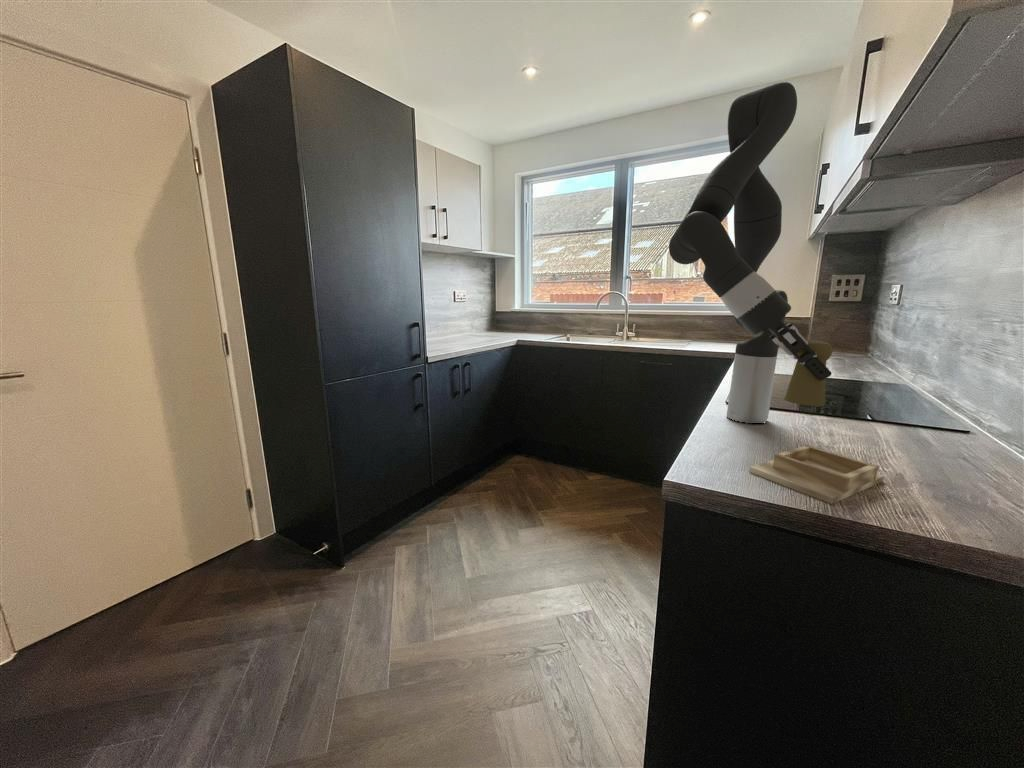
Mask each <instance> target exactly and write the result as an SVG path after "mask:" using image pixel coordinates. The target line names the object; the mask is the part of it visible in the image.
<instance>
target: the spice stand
mask: <svg viewBox="0 0 1024 768" xmlns="http://www.w3.org/2000/svg"><path fill="white" fill-rule="evenodd" d="M878 470H879V465H876V464H872V463H869V462H867V461H863V460H859V459H857V458H853V457H849V456H846V455H842V454H838V453H835V452H832V451H828V450H824V449H822V448H818V447H815V446H811V445H808V444H805V445H804V446H803V445H802V446H799V447H796V448H793V449H789V450H786V451H781V452H779V453H776V454H774V457H773V459H771V460H768V461H764V462H762V463H757V464H754V465H751V466H749V470H748V471H749V473H751V474H754V475H756V476H759V477H761V478H765V479H767V480H769V481H771V482H775V483H777V484H780V485H782V486H784V487H787V488H790V489H792V490H795V491H797V492H799V493H802V494H805V495H808V496H810V497H812V498H814V499H818V500H820V501H822V500H823V501H822V502H825V503H829V504H831V505H833V504H835V503H838V502H839V501H842V500H844V499H847V498H848V497H849V498H850V497H851V496H853V495H855V494H858V493H860V492H863V491H864V490H867V489H869V488H871V487H873V486H875V485H878V484H880V483H882V482H884V479H885V475H883V474H879V473H878Z"/></svg>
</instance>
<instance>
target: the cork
mask: <svg viewBox="0 0 1024 768" xmlns="http://www.w3.org/2000/svg"><path fill="white" fill-rule="evenodd" d="M806 341H807V342H808V344H809V345H808V346H809V347H810V348H811V349H812V350H814V351H815V352H816V356H817V358H818V359H819V360H820V361H821V362H822V363H823V364H824V365H825V366H826V367H827V361H829V359H830V358H831V357H832V354H833V346H832V344H830V343H829V342H826V341H822V340H816V339H815V340H813V339H812V340H811V339H810V340H806ZM806 352H807V350H806V349H802V350H801V351H799V352H798V353H797V354H798V355H799V356H801V355H802V354H804V353H806ZM826 379H827V378H826ZM826 379H824V380H822V381H819V380H817V379H816V378H815V377H814V375H813V374H812V373H811V372H810V371H809V370H808V369H807V368H806V367H805V366H804V365H802V364H800V363H799V362H798V360H796V364H795V366H794V369H793V373H792V375H791V378H790V381H789V384H788V385H787V390H786V393H785V395H784V398H783V400H784V401H786V402H788V403H792V404H797V405H800V406H801V405H803V406H811V407H823V406H825V403H826V401H825V400H826Z"/></svg>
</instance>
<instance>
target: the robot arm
mask: <svg viewBox="0 0 1024 768" xmlns="http://www.w3.org/2000/svg"><path fill="white" fill-rule="evenodd" d="M797 109H798V96H797V91H796V89H795V86H794V85H793V84H792V83H791V82H788V81H785V82H777V83H773V84H771V85H767V86H763V87H761V88H758V89H754V90H752V91H749V92H746V93H743V94H740V95H738V96H736V97H735V98H734V99H733V100H732V102H731V105H730V107H729V110H728V115H727V137H728V145H729V146H728V147H729V154H727V155H726V156H725V157H724V158H723V159H722V160H721V161H720V162H718V164H717V165H715V167H714V168H713V169H712V170H711V171H710V172H709V174H708V175H707V176H706V179H705V180H704V182H703V184H702V185H701V187H700V188H699V191H698V192H697V194H696V195H695V197H694V200H693V202H692V205H691V207H690V208H689V210H688V212H687V213H686V215H685V216H684V218H683V219H682V221H681V222H680V224H679V226H678V227H677V229H676V230H675V231H674V233H673V235H672V236H671V238H670V241H669V244H668V252H669V256H670V257H671V258H672V260H673V261H674V262H675V263H678V264H679V265H680V264H681V265H691V264H693V263H696V262H697V261H699V260H701V261H702V263H703V265H704V269H703V270H704V271H703V274H702V279H703V281H704V282H705V284H706V285H707V286H708V287H709V288H710V289H711V290H712V291H713V292H714V293H715V294H716V295H717V296H718V297H719V299H720V300H721V301H722V303H723V304H724V306H725V307H726V308H727V310H728V311H729V312H730V313H731V314H732V315H733V316H734V322H735V324H736V325H738V326H739V327H744V328H745V329H746V330H747V332H749V333H750V334H751V335H752V336H753V335H754V336H755V335H756V336H757V337H753V338H750V339H746V340H741V341H739V342H737V343H736V346H735V353H734V360H733V366H732V373H731V381H730V389H729V394H728V395H729V396H728V402H727V403H728V404H727V410H726V415H727V416H726V418H727V417H728V418H727V419H729V418H730V419H729V420H731V419H732V420H731V421H734V420H735V421H734V422H737V421H739V422H738V423H742V422H745V423H744V424H748V423H764V422H766V421H768V420H769V415H770V414H769V413H770V407H771V402H772V395H773V390H774V376H775V372H776V367H777V366H776V365H777V359H778V352H779V349H782V350H783V352H785V354H787V355H788V356H790V357H793V359H794V360H796V361H797V360H798V362H799V363H800V364H802V365H804V366H805V367H806V368H807V369H808V370H809V371H810V372H811V373H812V374H813V375H814V377H815V378H816V379H817V380H819V381H822V380H824V379H827V378H828V377H830V376H832V372H831V370H830V369H829V368H828V367H827V365H826V366H825V365H824V364H823V363H822V362H821V361H820V360H819V359H818V358H817V356H816V352H815V351H814V350H812V349H811V348H810V347H809V346H808V345H809V344H808V342H807V341H808V340H806V338H805V337H803V335H802V334H801V333H800V332H799V330H798V328H797V327H796V326H795V325H794V324H793V323H790V322H789V323H788V324H786V323H785V320H786V315H788V314H789V313H790V312H791V310H792V306H791V304H789V300H788V298H789V297H788V294H787V293H786V292H785V291H784V290H780V289H775V288H774V287H773V286H772V285H771V284H770V283H769V282H768V281H767V280H766V279H765V278H764V277H763V276H761V275H760V274H758V273H757V272H758V270H759V269H760V266H761V265H762V263H763V262H764V261H765V260H766V258H767V256H768V255H769V254H770V252H772V250H773V249H774V248H775V245H776V244H777V242H778V240H779V238H780V236H781V234H782V219H783V218H782V217H783V215H782V209H783V208H782V207H783V206H782V205H783V204H782V201H781V198H780V197H779V194H778V193H777V191H776V189H775V188H774V187H773V185H772V184H771V183H770V181H769V180H768V179H767V177H765V174H764V173H763V172H762V170H761V168H760V165H762V163H763V161H764V160H765V159H766V158H767V157H768V155H770V153H771V152H772V151H773V149H774V148H775V147H776V145H777V144H778V143H779V142H780V141H781V139H782V138H783V137H784V136H785V134H786V133H787V131H788V130H789V129H790V127H791V125H792V123H793V121H794V120H795V117H796V113H797ZM732 209H733V235H734V241H732V239H731V238H730V236H729V233H728V231H727V230H726V228H725V227H724V225H723V224H722V222H723V221H724V220H725V219H726V218H727V216H728V214H730V212H731V211H732ZM733 242H734V243H733ZM760 333H761V334H760ZM758 334H759V335H758ZM779 347H780V348H779ZM802 349H806V350H807V352H806V353H804V354H802V355H801V356H799V355H798V354H797V353H798V352H799V351H801V350H802ZM767 419H768V420H767ZM766 423H767V422H766ZM764 424H765V423H764Z"/></svg>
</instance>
